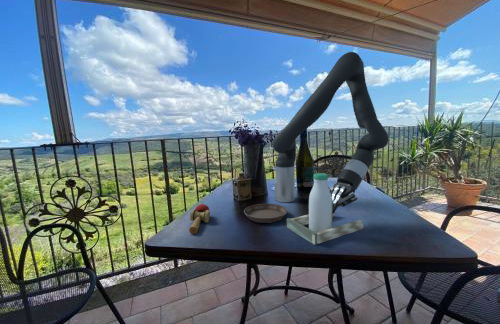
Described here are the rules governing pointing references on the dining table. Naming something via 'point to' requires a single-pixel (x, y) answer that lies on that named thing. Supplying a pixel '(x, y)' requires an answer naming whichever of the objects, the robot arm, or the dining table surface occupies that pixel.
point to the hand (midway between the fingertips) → (328, 213)
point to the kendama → (199, 217)
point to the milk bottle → (320, 204)
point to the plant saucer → (265, 213)
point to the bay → (322, 236)
